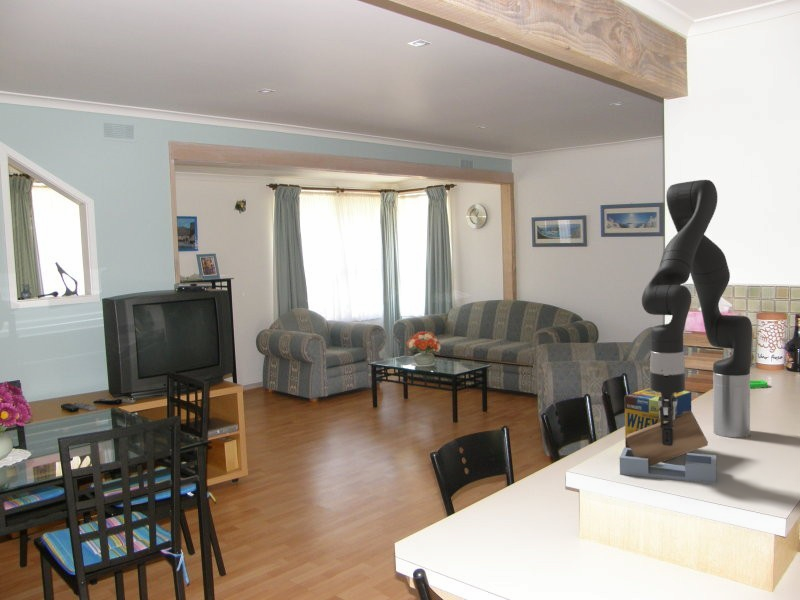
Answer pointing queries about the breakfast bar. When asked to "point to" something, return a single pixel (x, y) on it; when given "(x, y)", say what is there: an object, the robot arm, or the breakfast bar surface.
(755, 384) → the mechanical part
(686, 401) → the protein box
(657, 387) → the robot arm
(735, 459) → the breakfast bar surface
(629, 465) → the grey slotted holder
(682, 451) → the slat
